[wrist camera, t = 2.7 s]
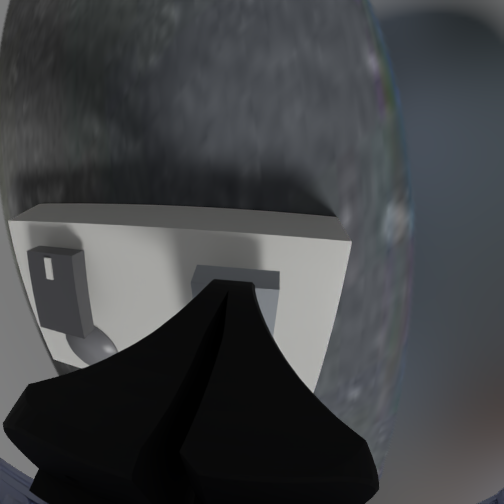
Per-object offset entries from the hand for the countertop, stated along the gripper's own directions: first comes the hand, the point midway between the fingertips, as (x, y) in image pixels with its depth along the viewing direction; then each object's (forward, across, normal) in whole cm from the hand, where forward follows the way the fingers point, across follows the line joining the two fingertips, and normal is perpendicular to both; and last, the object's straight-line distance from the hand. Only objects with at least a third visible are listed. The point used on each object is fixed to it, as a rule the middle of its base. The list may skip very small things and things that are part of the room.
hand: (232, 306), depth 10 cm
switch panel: (+6, +4, +3) cm, 8 cm away
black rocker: (+1, +8, +1) cm, 9 cm away
